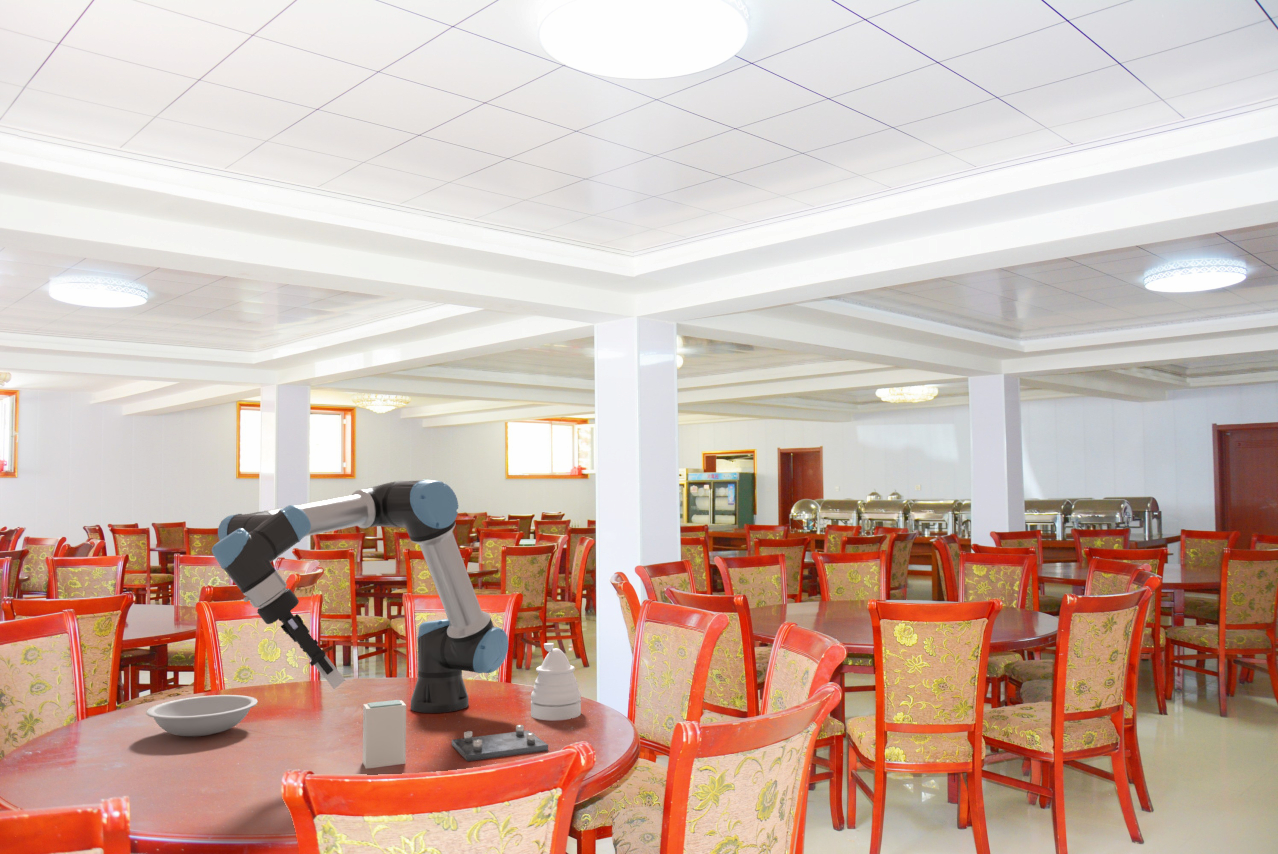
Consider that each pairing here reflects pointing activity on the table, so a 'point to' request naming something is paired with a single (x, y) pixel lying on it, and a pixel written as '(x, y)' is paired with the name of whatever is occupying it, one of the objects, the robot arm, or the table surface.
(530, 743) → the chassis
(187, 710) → the soup bowl
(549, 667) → the honey pot
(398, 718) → the block
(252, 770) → the table surface
